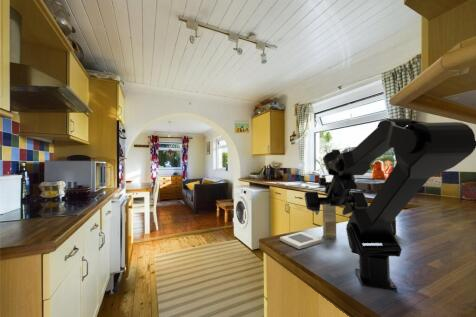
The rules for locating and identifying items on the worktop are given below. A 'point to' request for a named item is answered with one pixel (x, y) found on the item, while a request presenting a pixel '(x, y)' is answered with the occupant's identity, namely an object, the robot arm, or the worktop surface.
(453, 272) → the worktop surface
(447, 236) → the worktop surface
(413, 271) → the worktop surface
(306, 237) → the mat
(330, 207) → the wooden block
